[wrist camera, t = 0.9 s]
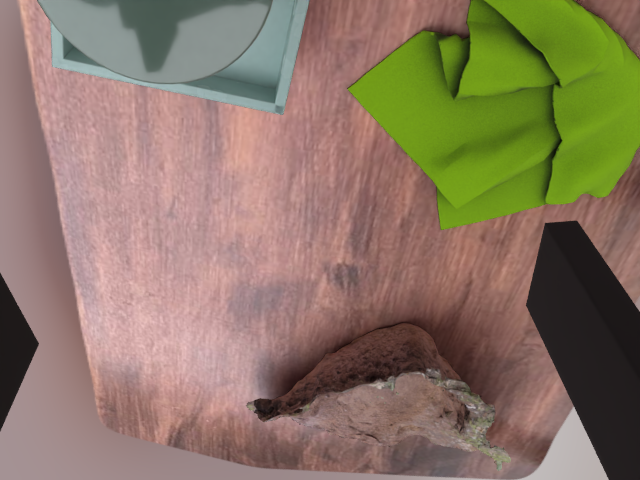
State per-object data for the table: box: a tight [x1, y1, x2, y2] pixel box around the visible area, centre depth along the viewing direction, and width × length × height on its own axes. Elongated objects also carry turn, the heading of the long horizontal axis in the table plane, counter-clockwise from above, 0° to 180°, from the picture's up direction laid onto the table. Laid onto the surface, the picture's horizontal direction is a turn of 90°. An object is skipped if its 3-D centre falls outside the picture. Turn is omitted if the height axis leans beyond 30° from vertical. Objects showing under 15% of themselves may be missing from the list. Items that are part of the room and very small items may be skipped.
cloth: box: [348, 0, 640, 230], centre depth 39 cm, size 20×22×2 cm
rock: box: [246, 323, 511, 471], centre depth 55 cm, size 26×22×10 cm
